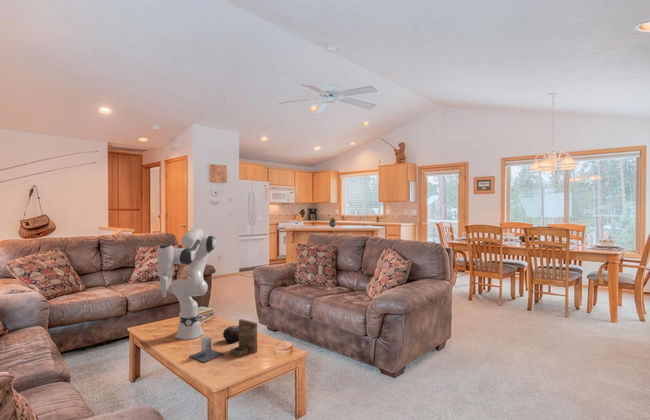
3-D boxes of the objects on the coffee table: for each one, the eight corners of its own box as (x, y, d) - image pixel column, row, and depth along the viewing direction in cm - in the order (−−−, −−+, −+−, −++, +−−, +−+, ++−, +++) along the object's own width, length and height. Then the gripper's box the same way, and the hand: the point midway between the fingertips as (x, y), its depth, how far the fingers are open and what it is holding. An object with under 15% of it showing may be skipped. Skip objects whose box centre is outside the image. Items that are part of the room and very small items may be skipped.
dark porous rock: (250, 336, 250) (250, 322, 250) (231, 345, 235) (231, 330, 235) (239, 334, 256) (239, 319, 255) (220, 342, 240) (220, 327, 240)
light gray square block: (205, 356, 215) (205, 339, 215) (201, 355, 218) (201, 338, 218) (211, 354, 219) (211, 337, 219) (207, 352, 221) (206, 336, 221)
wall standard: (242, 358, 214) (242, 328, 214) (226, 353, 222) (226, 323, 222) (257, 352, 224) (257, 323, 224) (241, 347, 232) (241, 319, 232)
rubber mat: (189, 357, 216) (189, 355, 216) (208, 349, 228) (208, 348, 228) (204, 363, 208) (204, 361, 208) (223, 354, 220) (223, 353, 220)
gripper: (168, 274, 206) (168, 299, 206) (173, 268, 226) (173, 290, 226) (156, 275, 204) (156, 299, 205) (162, 269, 224) (162, 291, 224)
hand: (165, 295), depth 215 cm, fingers open, 8 cm apart
